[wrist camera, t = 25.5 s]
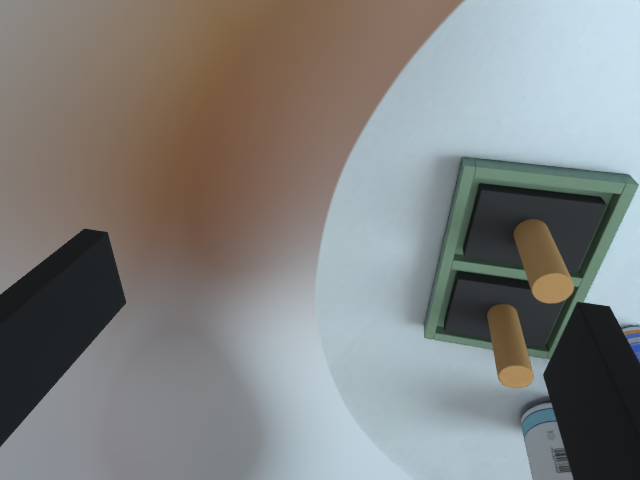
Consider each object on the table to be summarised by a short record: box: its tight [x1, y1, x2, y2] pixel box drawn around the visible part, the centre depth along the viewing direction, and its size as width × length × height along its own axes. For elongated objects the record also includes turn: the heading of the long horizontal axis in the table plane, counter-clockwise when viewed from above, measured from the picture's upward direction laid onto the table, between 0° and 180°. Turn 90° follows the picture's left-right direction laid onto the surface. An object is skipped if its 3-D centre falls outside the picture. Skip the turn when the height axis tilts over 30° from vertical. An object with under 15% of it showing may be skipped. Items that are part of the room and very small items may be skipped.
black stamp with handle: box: [463, 183, 607, 303], centre depth 36 cm, size 7×10×10 cm
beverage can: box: [521, 402, 573, 480], centre depth 48 cm, size 7×7×12 cm
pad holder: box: [424, 157, 639, 359], centre depth 42 cm, size 20×14×2 cm
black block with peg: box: [444, 271, 565, 388], centre depth 41 cm, size 7×10×10 cm
